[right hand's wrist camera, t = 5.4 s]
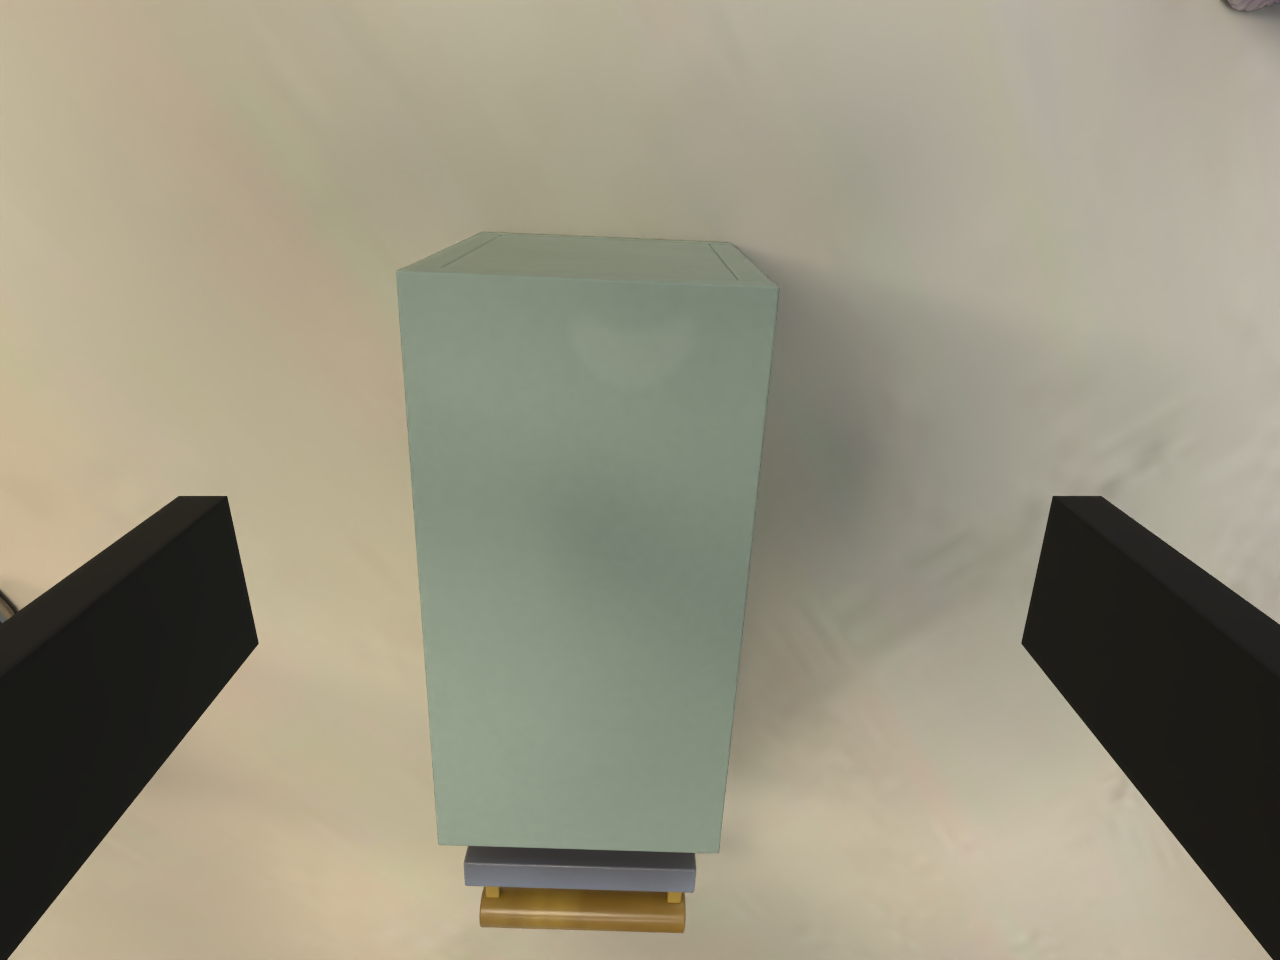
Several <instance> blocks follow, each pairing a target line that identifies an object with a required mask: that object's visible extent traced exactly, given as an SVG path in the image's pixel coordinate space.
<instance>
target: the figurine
mask: <svg viewBox="0 0 1280 960" xmlns="http://www.w3.org/2000/svg"><path fill="white" fill-rule="evenodd" d="M1227 1H1228V2H1229V4H1230V5H1231V6H1232V7H1233V8H1234V9H1236V10H1243V9H1244V10H1246V11H1253V10H1256V9H1261V8H1263V7H1264V6H1265V5H1266V4H1267V5H1269V6H1270V5H1271V4H1272V3H1274V2H1275V3H1277V4H1278V3H1279V2H1280V0H1227Z"/></svg>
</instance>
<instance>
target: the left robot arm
mask: <svg viewBox="0 0 1280 960" xmlns="http://www.w3.org/2000/svg"><path fill="white" fill-rule="evenodd" d="M14 614H15V613H14V612H13V610H12V609H11V608H10V607H9V606H8V604H7V603H6V602H5V601H4V600H3V599H2V598H1V597H0V625H1V624H2V623H3V622H5V621H6V620H7V619H9V618H10V617H12V616H13V615H14Z"/></svg>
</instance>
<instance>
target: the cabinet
mask: <svg viewBox="0 0 1280 960" xmlns="http://www.w3.org/2000/svg"><path fill="white" fill-rule="evenodd" d="M396 278H397V291H398V305H399V318H400V332H401V345H402V359H403V373H404V386H405V400H406V413H407V427H408V440H409V454H410V467H411V481H412V494H413V508H414V521H415V535H416V548H417V562H418V575H419V589H420V602H421V616H422V629H423V643H424V656H425V670H426V683H427V697H428V710H429V724H430V737H431V751H432V764H433V778H434V791H435V805H436V818H437V832H438V844H439V845H460V846H492V847H524V848H556V849H588V850H620V851H652V852H685V853H719V847H720V838H721V828H722V819H723V810H724V800H725V791H726V782H727V772H728V763H729V754H730V744H731V735H732V726H733V716H734V707H735V698H736V688H737V679H738V670H739V661H740V651H741V642H742V633H743V623H744V614H745V605H746V595H747V586H748V577H749V567H750V558H751V549H752V539H753V530H754V521H755V511H756V502H757V493H758V483H759V474H760V465H761V455H762V446H763V437H764V427H765V418H766V409H767V399H768V390H769V381H770V371H771V362H772V353H773V344H774V334H775V325H776V316H777V306H778V297H779V287H778V286H777V285H776V284H775V283H774V282H772V281H771V280H770V279H769V278H768V277H767V276H766V275H765V274H764V273H762V272H761V271H760V270H759V269H758V268H757V267H756V266H755V265H754V264H753V263H752V262H751V261H749V260H748V259H747V258H746V257H745V256H744V255H743V254H742V253H741V252H740V251H739V250H737V249H736V248H735V247H734V246H733V245H732V244H731V243H728V242H705V241H682V240H659V239H636V238H613V237H590V236H567V235H544V234H521V233H498V232H480V233H478V234H477V235H474V236H472V237H470V238H468V239H466V240H463V241H461V242H459V243H457V244H455V245H453V246H450V247H448V248H446V249H444V250H442V251H439V252H437V253H435V254H433V255H431V256H429V257H426V258H424V259H422V260H420V261H418V262H415V263H413V264H411V265H409V266H406V267H404V268H402V269H400V270H397V272H396Z"/></svg>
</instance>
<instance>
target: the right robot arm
mask: <svg viewBox="0 0 1280 960" xmlns="http://www.w3.org/2000/svg"><path fill="white" fill-rule="evenodd" d="M258 644H259V643H258V638H257V634H256V629H255V624H254V620H253V615H252V610H251V606H250V601H249V596H248V592H247V587H246V582H245V578H244V573H243V568H242V564H241V559H240V554H239V550H238V545H237V540H236V536H235V531H234V526H233V521H232V517H231V512H230V507H229V503H228V498H227V496H178V497H177V498H176V499H174V500H173V501H171V502H170V503H169V504H167V505H166V506H165V507H163V508H162V509H160V510H159V511H158V512H156V513H155V514H153V515H152V516H151V517H149V518H148V519H146V520H145V521H144V522H142V523H141V524H139V525H138V526H137V527H135V528H134V529H133V530H131V531H130V532H128V533H127V534H126V535H124V536H123V537H121V538H120V539H119V540H117V541H116V542H114V543H113V544H112V545H110V546H109V547H108V548H106V549H105V550H103V551H102V552H101V553H99V554H98V555H96V556H95V557H94V558H92V559H91V560H89V561H88V562H87V563H85V564H84V565H83V566H81V567H80V568H78V569H77V570H76V571H74V572H73V573H71V574H70V575H69V576H67V577H66V578H64V579H63V580H62V581H60V582H59V583H58V584H56V585H55V586H53V587H52V588H51V589H49V590H48V591H46V592H45V593H44V594H42V595H41V596H39V597H38V598H37V599H35V600H34V601H32V602H31V603H30V604H28V605H27V606H26V607H24V608H23V609H21V610H20V611H19V612H17V613H16V614H14V615H13V616H12V617H10V618H9V619H7V620H6V621H5V622H3V623H2V624H1V625H0V960H7V959H8V958H9V957H10V955H11V954H12V953H13V952H14V950H15V949H16V948H17V947H18V945H19V944H20V943H21V941H22V940H23V939H24V938H25V936H26V935H27V934H28V933H29V931H30V930H31V929H32V928H33V926H34V925H35V924H36V923H37V921H38V920H39V919H40V918H41V916H42V915H43V914H44V913H45V911H46V910H47V909H48V908H49V906H50V905H51V904H52V903H53V901H54V900H55V899H56V898H57V896H58V895H59V894H60V892H61V891H62V890H63V889H64V887H65V886H66V885H67V884H68V882H69V881H70V880H71V879H72V877H73V876H74V875H75V874H76V872H77V871H78V870H79V869H80V867H81V866H82V865H83V864H84V862H85V861H86V860H87V859H88V857H89V856H90V855H91V854H92V852H93V851H94V850H95V849H96V847H97V846H98V845H99V843H100V842H101V841H102V840H103V838H104V837H105V836H106V835H107V833H108V832H109V831H110V830H111V828H112V827H113V826H114V825H115V823H116V822H117V821H118V820H119V818H120V817H121V816H122V815H123V813H124V812H125V811H126V810H127V808H128V807H129V806H130V805H131V803H132V802H133V801H134V800H135V798H136V797H137V796H138V794H139V793H140V792H141V791H142V789H143V788H144V787H145V786H146V784H147V783H148V782H149V781H150V779H151V778H152V777H153V776H154V774H155V773H156V772H157V771H158V769H159V768H160V767H161V766H162V764H163V763H164V762H165V761H166V759H167V758H168V757H169V756H170V754H171V753H172V752H173V751H174V749H175V748H176V747H177V745H178V744H179V743H180V742H181V740H182V739H183V738H184V737H185V735H186V734H187V733H188V732H189V730H190V729H191V728H192V727H193V725H194V724H195V723H196V722H197V720H198V719H199V718H200V717H201V715H202V714H203V713H204V712H205V710H206V709H207V708H208V707H209V705H210V704H211V703H212V701H213V700H214V699H215V698H216V696H217V695H218V694H219V693H220V691H221V690H222V689H223V688H224V686H225V685H226V684H227V683H228V681H229V680H230V679H231V678H232V676H233V675H234V674H235V673H236V671H237V670H238V669H239V668H240V666H241V665H242V664H243V663H244V661H245V660H246V659H247V658H248V656H249V655H250V654H251V652H252V651H253V650H254V649H255V647H256V646H257V645H258ZM1021 644H1022V645H1023V646H1024V647H1025V649H1026V650H1027V651H1028V652H1029V654H1030V655H1031V656H1032V658H1033V659H1034V660H1035V661H1036V663H1037V664H1038V665H1039V666H1040V668H1041V669H1042V670H1043V671H1044V673H1045V674H1046V675H1047V676H1048V678H1049V679H1050V680H1051V681H1052V683H1053V684H1054V685H1055V686H1056V688H1057V689H1058V690H1059V691H1060V693H1061V694H1062V695H1063V696H1064V698H1065V699H1066V700H1067V701H1068V703H1069V704H1070V705H1071V707H1072V708H1073V709H1074V710H1075V712H1076V713H1077V714H1078V715H1079V717H1080V718H1081V719H1082V720H1083V722H1084V723H1085V724H1086V725H1087V727H1088V728H1089V729H1090V730H1091V732H1092V733H1093V734H1094V735H1095V737H1096V738H1097V739H1098V740H1099V742H1100V743H1101V744H1102V745H1103V747H1104V748H1105V749H1106V751H1107V752H1108V753H1109V754H1110V756H1111V757H1112V758H1113V759H1114V761H1115V762H1116V763H1117V764H1118V766H1119V767H1120V768H1121V769H1122V771H1123V772H1124V773H1125V774H1126V776H1127V777H1128V778H1129V779H1130V781H1131V782H1132V783H1133V784H1134V786H1135V787H1136V788H1137V789H1138V791H1139V792H1140V793H1141V794H1142V796H1143V797H1144V798H1145V800H1146V801H1147V802H1148V803H1149V805H1150V806H1151V807H1152V808H1153V810H1154V811H1155V812H1156V813H1157V815H1158V816H1159V817H1160V818H1161V820H1162V821H1163V822H1164V823H1165V825H1166V826H1167V827H1168V828H1169V830H1170V831H1171V832H1172V833H1173V835H1174V836H1175V837H1176V838H1177V840H1178V841H1179V842H1180V843H1181V845H1182V846H1183V847H1184V849H1185V850H1186V851H1187V852H1188V854H1189V855H1190V856H1191V857H1192V859H1193V860H1194V861H1195V862H1196V864H1197V865H1198V866H1199V867H1200V869H1201V870H1202V871H1203V872H1204V874H1205V875H1206V876H1207V877H1208V879H1209V880H1210V881H1211V882H1212V884H1213V885H1214V886H1215V887H1216V889H1217V890H1218V891H1219V892H1220V894H1221V895H1222V896H1223V898H1224V899H1225V900H1226V901H1227V903H1228V904H1229V905H1230V906H1231V908H1232V909H1233V910H1234V911H1235V913H1236V914H1237V915H1238V916H1239V918H1240V919H1241V920H1242V921H1243V923H1244V924H1245V925H1246V926H1247V928H1248V929H1249V930H1250V931H1251V933H1252V934H1253V935H1254V936H1255V938H1256V939H1257V940H1258V941H1259V943H1260V944H1261V945H1262V947H1263V948H1264V949H1265V950H1266V952H1267V953H1268V954H1269V955H1270V957H1271V958H1272V959H1273V960H1280V625H1279V624H1278V623H1277V622H1275V621H1274V620H1273V619H1271V618H1270V617H1268V616H1267V615H1266V614H1264V613H1263V612H1261V611H1260V610H1259V609H1257V608H1256V607H1254V606H1253V605H1252V604H1250V603H1249V602H1248V601H1246V600H1245V599H1243V598H1242V597H1241V596H1239V595H1238V594H1236V593H1235V592H1234V591H1232V590H1231V589H1229V588H1228V587H1227V586H1225V585H1224V584H1222V583H1221V582H1220V581H1218V580H1217V579H1216V578H1214V577H1213V576H1211V575H1210V574H1209V573H1207V572H1206V571H1204V570H1203V569H1202V568H1200V567H1199V566H1197V565H1196V564H1195V563H1193V562H1192V561H1191V560H1189V559H1188V558H1186V557H1185V556H1184V555H1182V554H1181V553H1179V552H1178V551H1177V550H1175V549H1174V548H1172V547H1171V546H1170V545H1168V544H1167V543H1166V542H1164V541H1163V540H1161V539H1160V538H1159V537H1157V536H1156V535H1154V534H1153V533H1152V532H1150V531H1149V530H1147V529H1146V528H1145V527H1143V526H1142V525H1141V524H1139V523H1138V522H1136V521H1135V520H1134V519H1132V518H1131V517H1129V516H1128V515H1127V514H1125V513H1124V512H1122V511H1121V510H1120V509H1118V508H1117V507H1115V506H1114V505H1113V504H1111V503H1110V502H1109V501H1107V500H1106V499H1104V498H1103V497H1102V496H1053V498H1052V503H1051V507H1050V512H1049V517H1048V521H1047V526H1046V531H1045V535H1044V540H1043V545H1042V550H1041V554H1040V559H1039V564H1038V568H1037V573H1036V578H1035V582H1034V587H1033V592H1032V596H1031V601H1030V606H1029V610H1028V615H1027V620H1026V624H1025V629H1024V634H1023V638H1022V643H1021Z"/></svg>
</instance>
